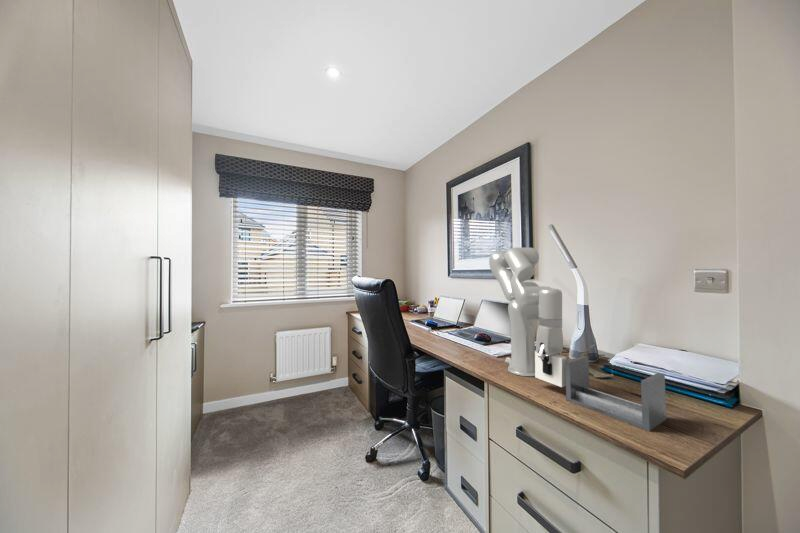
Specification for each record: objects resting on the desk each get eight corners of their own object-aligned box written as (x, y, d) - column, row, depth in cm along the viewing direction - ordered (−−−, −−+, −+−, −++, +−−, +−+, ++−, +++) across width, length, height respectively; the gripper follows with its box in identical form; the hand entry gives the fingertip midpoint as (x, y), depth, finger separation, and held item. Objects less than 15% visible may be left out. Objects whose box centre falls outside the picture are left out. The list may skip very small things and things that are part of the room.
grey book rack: (566, 400, 94) (565, 361, 94) (584, 392, 100) (583, 355, 101) (649, 431, 75) (647, 382, 76) (666, 419, 81) (664, 374, 82)
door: (535, 377, 105) (535, 350, 105) (539, 375, 107) (539, 349, 106) (561, 387, 96) (561, 358, 96) (566, 385, 98) (566, 357, 98)
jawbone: (592, 380, 125) (616, 376, 111) (577, 384, 124) (600, 380, 111) (577, 349, 131) (597, 342, 118) (562, 352, 130) (581, 346, 117)
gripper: (553, 318, 109) (553, 365, 109) (526, 323, 100) (526, 373, 101) (573, 321, 102) (573, 371, 102) (546, 327, 94) (546, 381, 94)
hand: (550, 372), depth 101 cm, fingers closed on door, 3 cm apart
